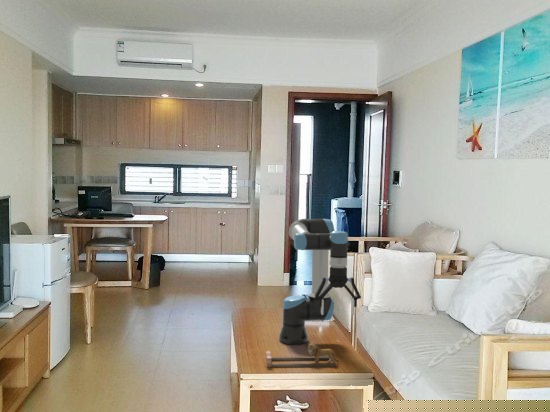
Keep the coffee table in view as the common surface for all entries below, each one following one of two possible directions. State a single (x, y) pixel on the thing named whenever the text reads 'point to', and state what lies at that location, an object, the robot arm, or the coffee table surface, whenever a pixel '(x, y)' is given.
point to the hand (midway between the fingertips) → (337, 314)
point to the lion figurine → (321, 353)
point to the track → (269, 364)
